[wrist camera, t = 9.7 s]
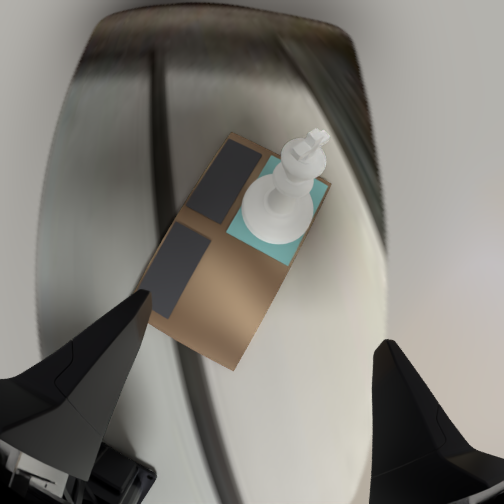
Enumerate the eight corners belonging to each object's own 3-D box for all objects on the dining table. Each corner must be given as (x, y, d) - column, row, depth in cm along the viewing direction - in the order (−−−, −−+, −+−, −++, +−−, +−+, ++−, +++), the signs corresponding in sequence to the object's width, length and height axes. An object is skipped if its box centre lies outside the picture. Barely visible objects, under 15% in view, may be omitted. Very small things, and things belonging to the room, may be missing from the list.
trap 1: (220, 224, 19) (220, 223, 19) (185, 205, 20) (185, 205, 19) (261, 155, 20) (262, 154, 20) (228, 139, 20) (228, 138, 20)
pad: (287, 266, 19) (288, 265, 19) (226, 232, 19) (226, 231, 19) (327, 186, 20) (328, 185, 20) (271, 156, 20) (271, 155, 20)
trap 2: (168, 318, 18) (167, 319, 18) (134, 297, 18) (133, 297, 18) (211, 241, 19) (210, 240, 19) (176, 221, 19) (175, 221, 19)
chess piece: (227, 201, 20) (221, 119, 10) (282, 164, 20) (317, 71, 10) (271, 259, 19) (310, 224, 9) (325, 217, 20) (397, 155, 10)
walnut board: (233, 368, 19) (233, 371, 18) (128, 308, 19) (125, 308, 18) (329, 186, 21) (331, 184, 20) (231, 135, 21) (231, 131, 21)
